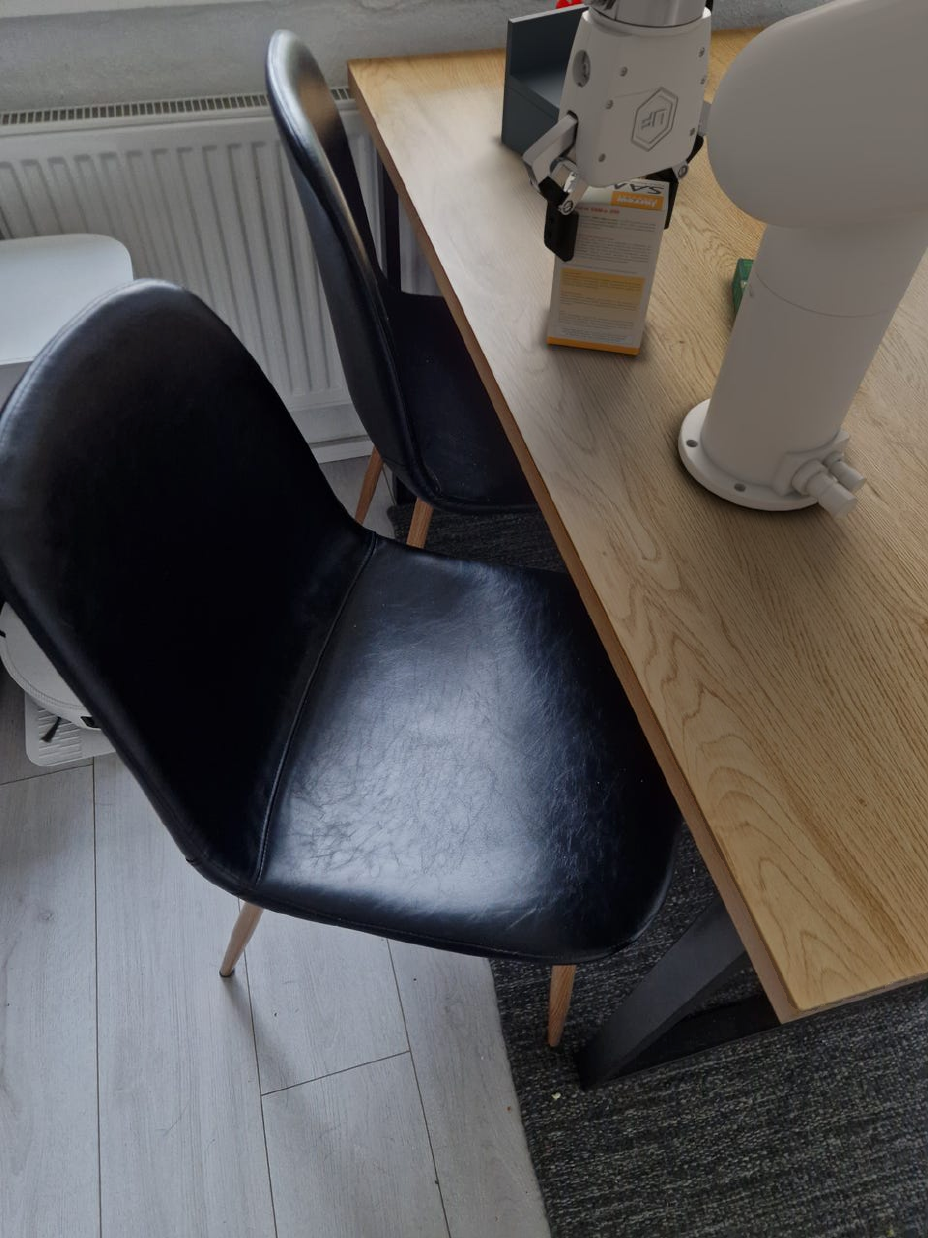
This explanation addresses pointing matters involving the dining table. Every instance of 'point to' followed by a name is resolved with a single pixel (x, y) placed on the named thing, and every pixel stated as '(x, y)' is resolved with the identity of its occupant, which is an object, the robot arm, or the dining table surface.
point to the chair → (536, 74)
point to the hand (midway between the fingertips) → (606, 236)
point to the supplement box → (609, 267)
